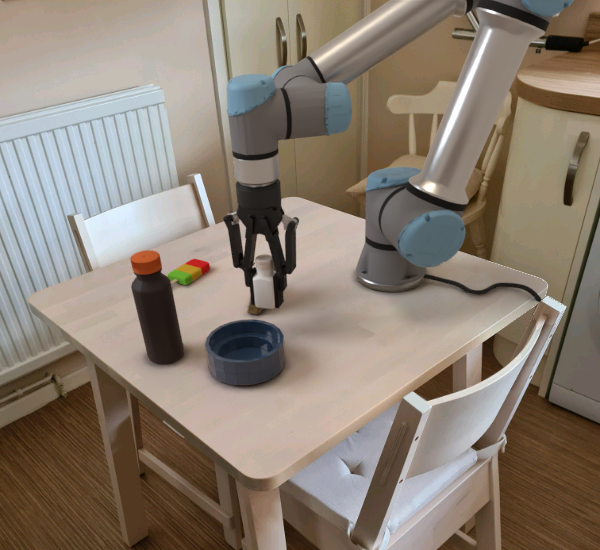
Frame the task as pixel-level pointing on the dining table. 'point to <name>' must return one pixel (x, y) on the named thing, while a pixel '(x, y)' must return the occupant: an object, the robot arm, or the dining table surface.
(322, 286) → the dining table surface
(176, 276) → the popsicle
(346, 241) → the dining table surface
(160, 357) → the vinegar
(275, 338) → the bowl
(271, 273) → the pepper shaker
